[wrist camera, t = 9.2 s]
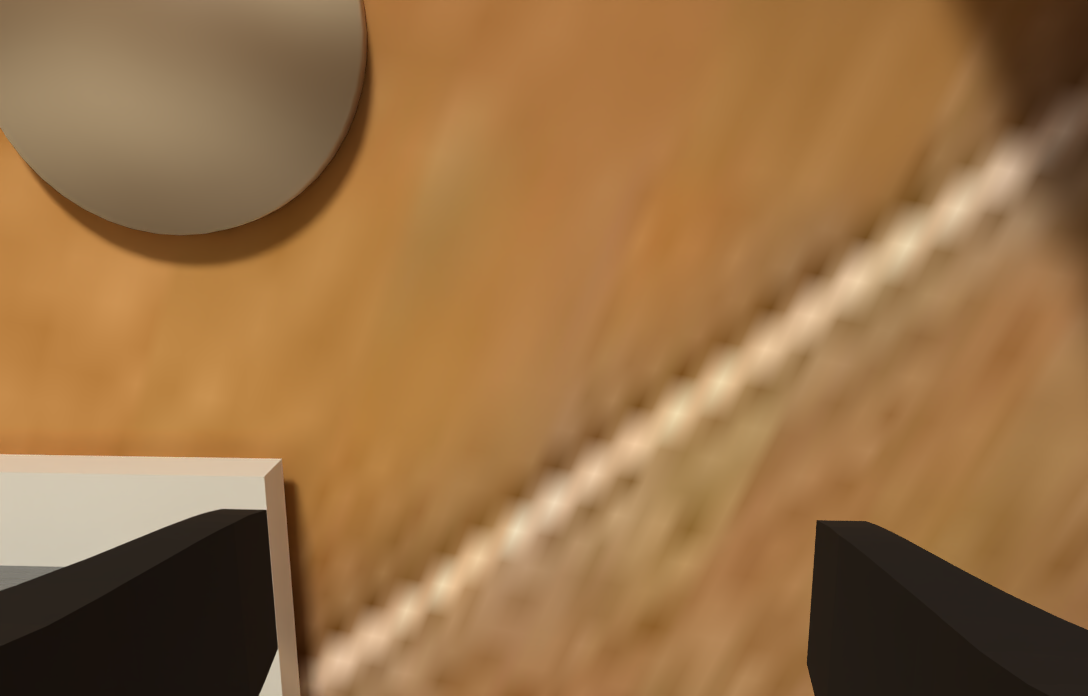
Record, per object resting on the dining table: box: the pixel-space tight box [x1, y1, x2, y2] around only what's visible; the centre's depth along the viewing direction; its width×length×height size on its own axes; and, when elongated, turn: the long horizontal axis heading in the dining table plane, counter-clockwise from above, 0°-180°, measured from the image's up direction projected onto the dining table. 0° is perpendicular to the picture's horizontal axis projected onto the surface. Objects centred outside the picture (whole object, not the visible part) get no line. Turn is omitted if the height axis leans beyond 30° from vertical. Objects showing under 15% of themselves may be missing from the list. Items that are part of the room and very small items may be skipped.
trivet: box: [0, 454, 300, 696], centre depth 23 cm, size 12×12×2 cm
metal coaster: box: [0, 0, 367, 235], centre depth 20 cm, size 9×9×1 cm
